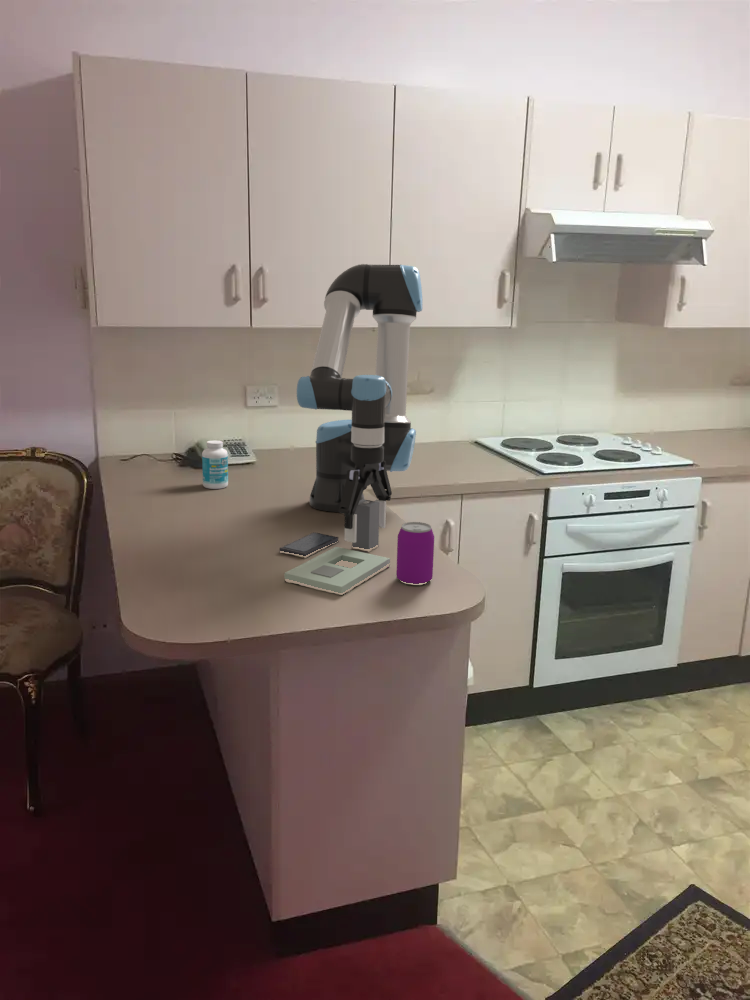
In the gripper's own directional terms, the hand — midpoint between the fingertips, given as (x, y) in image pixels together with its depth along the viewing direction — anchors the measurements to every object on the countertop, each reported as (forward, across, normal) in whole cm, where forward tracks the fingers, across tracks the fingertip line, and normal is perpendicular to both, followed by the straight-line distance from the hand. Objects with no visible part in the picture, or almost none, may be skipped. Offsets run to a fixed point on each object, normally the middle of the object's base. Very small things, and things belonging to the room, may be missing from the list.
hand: (365, 534), depth 190 cm
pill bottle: (+3, -23, -65) cm, 69 cm away
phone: (+3, +7, -11) cm, 13 cm away
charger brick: (+3, 0, 0) cm, 3 cm away
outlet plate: (+4, +18, +4) cm, 19 cm away
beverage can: (+4, +12, +19) cm, 23 cm away
